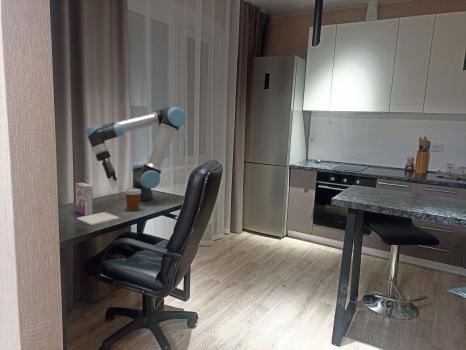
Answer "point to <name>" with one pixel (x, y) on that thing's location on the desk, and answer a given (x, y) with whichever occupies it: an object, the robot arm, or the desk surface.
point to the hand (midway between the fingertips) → (116, 187)
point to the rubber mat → (98, 218)
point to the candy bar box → (84, 199)
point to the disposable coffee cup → (133, 198)
